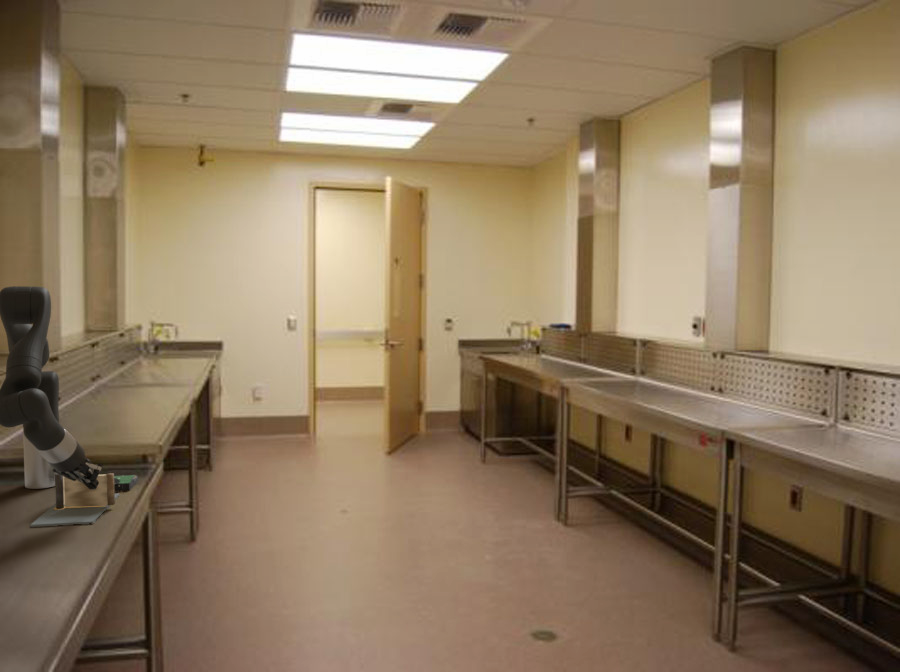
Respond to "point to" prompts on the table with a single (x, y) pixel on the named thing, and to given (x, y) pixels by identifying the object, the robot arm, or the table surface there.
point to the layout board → (70, 515)
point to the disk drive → (124, 482)
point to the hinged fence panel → (90, 492)
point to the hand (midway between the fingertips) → (94, 486)
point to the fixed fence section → (59, 491)
